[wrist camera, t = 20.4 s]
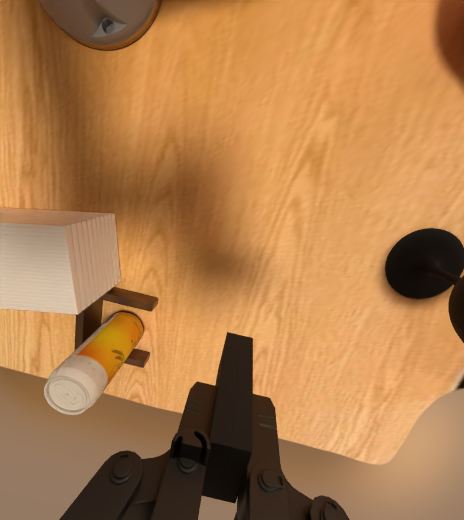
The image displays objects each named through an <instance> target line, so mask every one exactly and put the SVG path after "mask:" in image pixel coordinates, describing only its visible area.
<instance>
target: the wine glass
mask: <svg viewBox="0 0 464 520" xmlns="http://www.w3.org/2000/svg"><path fill="white" fill-rule="evenodd" d="M463 269H464V247H463V245H462V243H461V242H460V240H459V239H458V238H457V237H456V236H454V235H453V234H452V233H450V232H447V231H445V230H441V229H433V228H430V229H422V230H418V231H415V232H413V233H411V234H409V235H407V236H405V237H404V238H402V239H401V240H400V241H399V242H398V243H397V244H396V245H395V246H394V247H393V249H392V250H391V252H390V253H389V256H388V258H387V261H386V268H385V270H386V277H387V280H388V282H389V284H390V285H391V286H392V288H393V289H394V290H395V291H397V292H398V293H400V294H401V295H404V296H406V297H410V298H416V299H421V298H429V297H433V296H436V295H438V294H440V293H442V292H444V291H446V290H447V289H448V288H450V287H451V286H452V285H454V288H453V290H452V292H451V295H450V298H449V315H450V320H451V323H452V325H453V327H454V329H455V331H456V333H457V334H458V336H459V337H460V339H461V340H462V341H463V343H464V276H463V277H462V278H460V275H461V273H462V271H463Z"/></svg>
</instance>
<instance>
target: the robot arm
mask: <svg viewBox="0 0 464 520" xmlns="http://www.w3.org/2000/svg"><path fill="white" fill-rule="evenodd" d="M161 1H162V0H38V2H39V3H40V5H41V6H42V8H43V9H44V10H45V12H46V13H47V14H48V15H49V16H50V18H51V19H52V20H53V21H54V22H55V23H56V24H57V25H58V26H59V27H60V28H61V29H62V30H64V31H65V32H66V33H68V34H69V35H70V36H71V37H73V38H74V39H75V40H77V41H79V42H80V43H82V44H84V45H86V46H89V47H92V48H96V49H101V50H113V49H118V48H122V47H125V46H127V45H129V44H131V43H133V42H134V41H136V40H137V39H138V38H139V37H140V36H142V35H143V34H144V32H145V31H146V30H147V29H148V28H149V26H150V25H151V23H152V22H153V20H154V18H155V16H156V14H157V12H158V10H159V7H160V4H161ZM201 496H206V497H211V498H214V499H219V500H223V501H227V502H231V503H235V502H236V499H237V496H238V501H237V513H236V515H235V518H234V520H349V518H348V516H347V515H346V513H345V511H344V510H343V508H342V507H341V506H340V505H339V504H338V503H337V502H336V501H334V500H332V499H331V498H329V497H326V496H318V497H315V498H314V500H312V499H310V498H308V497H307V496H305V495H304V494H302V493H300V492H299V491H297V490H296V489H295V488H293V487H292V486H291V485H290V483H289V482H288V481H287V480H286V478H285V476H284V475H283V472H282V470H281V465H280V456H279V446H278V435H277V424H276V414H275V407H274V405H273V403H272V401H271V399H270V398H268V397H264V396H260V395H255V394H253V338H250V337H246V336H241V335H237V334H233V333H228V332H227V336H226V340H225V344H224V348H223V352H222V357H221V361H220V365H219V369H218V374H217V380H216V385H215V386H214V385H209V384H205V383H201V382H196V383H195V384H194V386H193V387H192V388H191V389H190V392H189V395H188V398H187V402H186V405H185V409H184V412H183V415H182V419H181V422H180V425H179V429H178V432H177V433H176V434H175V436H174V438H173V440H172V444H171V448H170V450H168V451H167V452H166V453H165V454H163V455H161V456H158V457H155V458H148V459H141V458H140V456H138V455H137V454H136V453H135V452H131V451H120V452H118V453H116V454H114V455H112V456H111V457H110V458H109V459H108V460H107V461H105V463H104V464H103V465H102V466H101V468H100V469H99V470H98V472H97V473H96V474H95V475H94V477H93V478H92V479H91V480H90V482H89V483H88V484H87V486H86V487H85V488H84V489H83V490H82V492H81V493H80V494H79V496H78V497H77V498H76V500H75V501H74V502H73V503H72V504H71V506H70V507H69V508H68V510H67V511H66V512H65V513H64V515H63V516H62V517H61V518H60V520H198V515H199V508H200V502H201Z"/></svg>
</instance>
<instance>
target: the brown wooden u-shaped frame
mask: <svg viewBox="0 0 464 520" xmlns="http://www.w3.org/2000/svg"><path fill="white" fill-rule="evenodd" d="M103 300H106V301H110V302H114V303H118V304H122V305H126V306H130V307H135V308H139V309H143V310H147V311H151V312H152V310H153V309H154V308H155V307H156V305H157V303H158V298H157V297H152V296H148V295H144V294H140V293H136V292H132V291H128V290H124V289H119V288H115V287H113V288H111V289H110V290H109V291H108V292H106V293H105V294H104V295H103V296H101V297H100V298H99V299H97V300H96V301H95V302H94V303H92V304H91V305H90V306H87V308H86V309H84V310H82V312H81V313H79V314H78V315H77V314H76V330H75V350H76V349H77V348H78V347H79V346H81V345H82V344H83V343H84V342H85V341H86V340H87V339H88V338H89V337H90V336H91V335H92V334H93V333H94V332H95V331H96V330H97V329H98V328H99V327H100V326H101V314H102V301H103ZM149 356H150V353H149V352H145V351H141V350H137V349H133V350H132V352H131V353H130V355H129V356H128V357H127V359H126V360H125V362H124V363H126V364H130V365H134V366H138V367H142V368H144V366H145V364H146V363H147V361H148V359H149Z"/></svg>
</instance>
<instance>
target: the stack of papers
mask: <svg viewBox="0 0 464 520" xmlns="http://www.w3.org/2000/svg"><path fill="white" fill-rule="evenodd" d="M119 282H121V276H120V265H119V254H118V243H117V233H116V222H115V214H114V213H95V212H77V211H58V210H39V209H21V208H2V207H0V308H2V309H14V310H27V311H39V312H52V313H64V314H77V315H78V314H79V313H81V312H82V310H84V309H86V308H87V306H90V305H91V304H92V303H94V302H95V301H96V300H97V299H99V298H100V297H101V296H103V295H104V294H105V293H106V292H108V291H109V290H110V289H111V288H113V287H114V286H116V285H117V284H118V283H119Z"/></svg>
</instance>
